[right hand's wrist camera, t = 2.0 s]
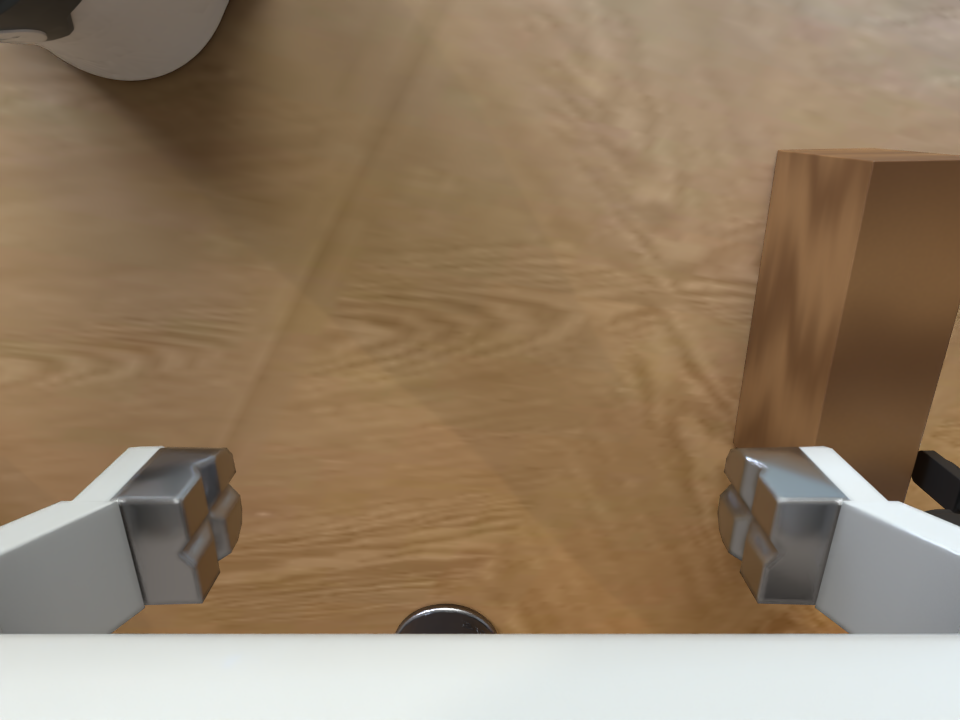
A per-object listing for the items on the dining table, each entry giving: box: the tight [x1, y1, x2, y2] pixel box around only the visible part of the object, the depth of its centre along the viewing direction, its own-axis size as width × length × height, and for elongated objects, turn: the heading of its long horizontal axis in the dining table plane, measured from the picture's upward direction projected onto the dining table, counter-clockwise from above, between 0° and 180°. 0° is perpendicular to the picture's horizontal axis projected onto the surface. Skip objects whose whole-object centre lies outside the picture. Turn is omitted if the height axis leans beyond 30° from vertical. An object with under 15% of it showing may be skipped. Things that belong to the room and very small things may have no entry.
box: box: [733, 148, 960, 503], centre depth 39 cm, size 22×6×10 cm, turn 1°
